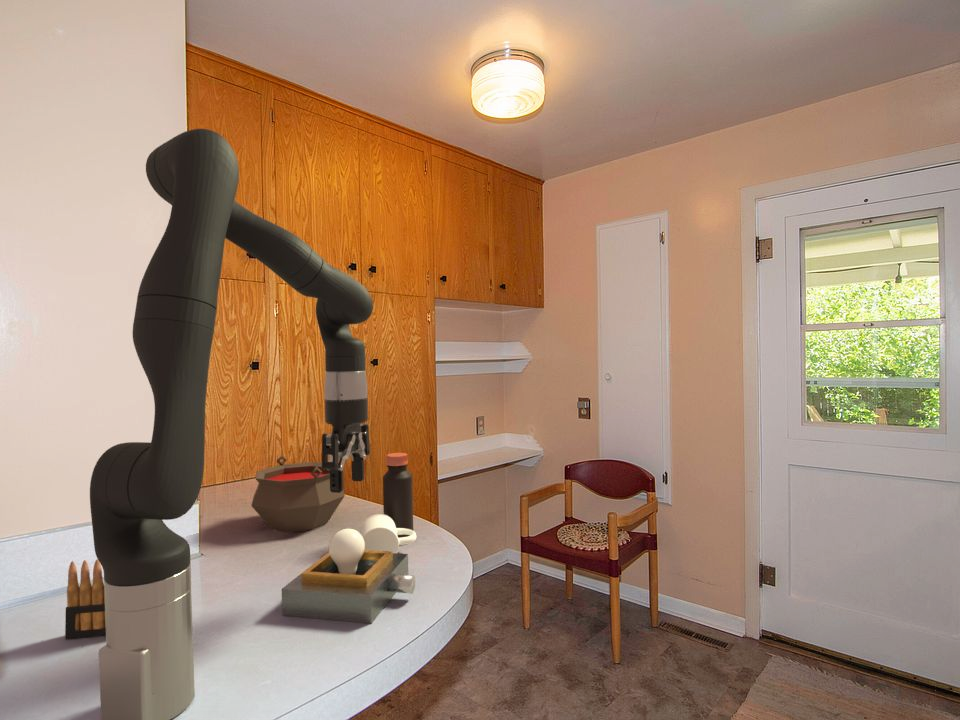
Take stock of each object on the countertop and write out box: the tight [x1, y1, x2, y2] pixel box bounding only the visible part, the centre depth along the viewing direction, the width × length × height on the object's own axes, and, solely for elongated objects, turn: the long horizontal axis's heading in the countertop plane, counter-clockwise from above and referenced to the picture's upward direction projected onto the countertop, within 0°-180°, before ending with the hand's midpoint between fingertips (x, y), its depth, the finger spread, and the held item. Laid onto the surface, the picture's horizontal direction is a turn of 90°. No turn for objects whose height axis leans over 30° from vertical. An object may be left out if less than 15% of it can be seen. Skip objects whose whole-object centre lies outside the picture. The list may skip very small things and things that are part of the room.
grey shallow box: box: [281, 550, 416, 625], centre depth 97 cm, size 18×20×6 cm
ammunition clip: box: [64, 559, 106, 641], centre depth 86 cm, size 11×2×12 cm, turn 99°
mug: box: [359, 512, 417, 553], centre depth 116 cm, size 12×10×8 cm
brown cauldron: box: [251, 454, 346, 534], centre depth 139 cm, size 24×24×16 cm
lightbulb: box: [328, 528, 365, 575], centre depth 98 cm, size 6×6×11 cm
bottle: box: [382, 452, 414, 538], centre depth 125 cm, size 7×7×20 cm
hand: (348, 486), depth 97 cm, fingers open, 8 cm apart
